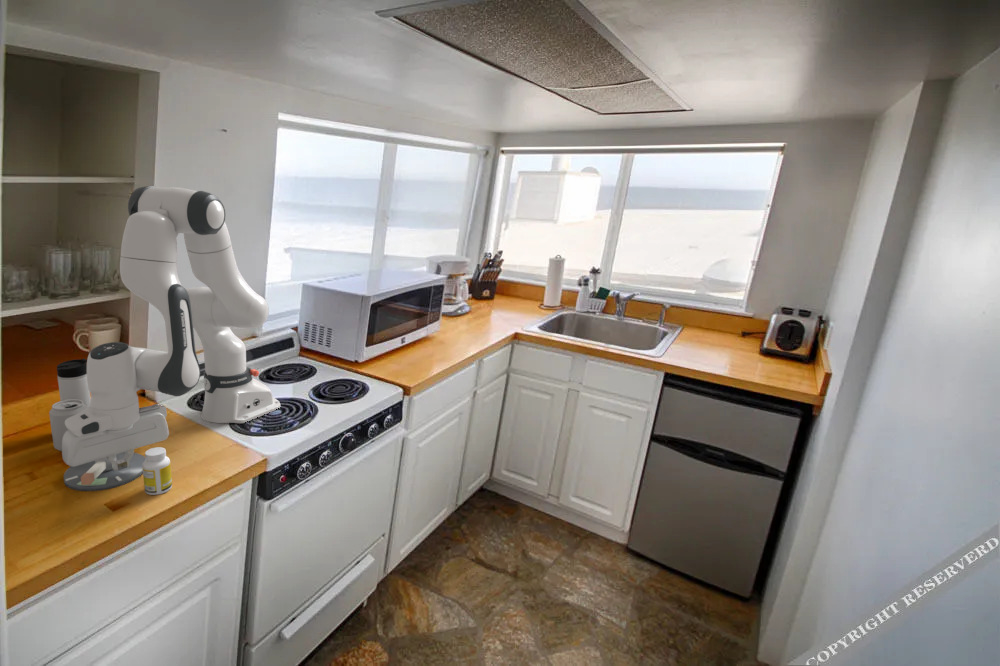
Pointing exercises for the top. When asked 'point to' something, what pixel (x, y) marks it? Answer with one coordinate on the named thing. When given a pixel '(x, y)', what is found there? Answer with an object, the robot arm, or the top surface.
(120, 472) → the dial plate
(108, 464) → the needle
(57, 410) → the can
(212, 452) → the top surface
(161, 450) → the supplement bottle
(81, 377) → the travel mug
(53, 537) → the top surface
